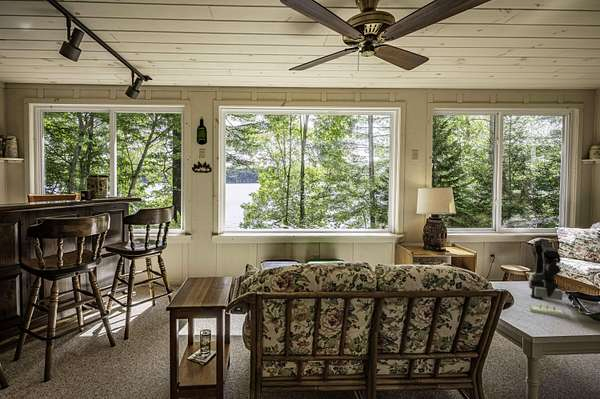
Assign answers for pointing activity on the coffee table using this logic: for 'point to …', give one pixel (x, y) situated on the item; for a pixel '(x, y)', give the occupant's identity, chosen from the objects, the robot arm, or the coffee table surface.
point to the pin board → (547, 310)
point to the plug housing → (543, 293)
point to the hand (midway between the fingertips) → (547, 295)
